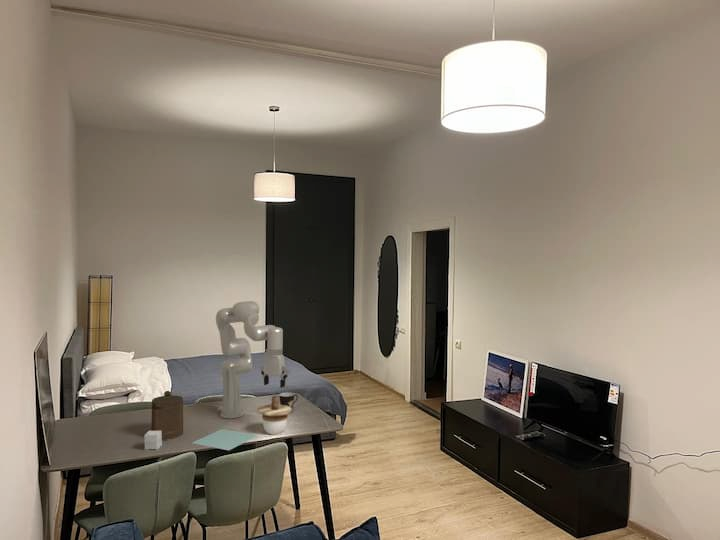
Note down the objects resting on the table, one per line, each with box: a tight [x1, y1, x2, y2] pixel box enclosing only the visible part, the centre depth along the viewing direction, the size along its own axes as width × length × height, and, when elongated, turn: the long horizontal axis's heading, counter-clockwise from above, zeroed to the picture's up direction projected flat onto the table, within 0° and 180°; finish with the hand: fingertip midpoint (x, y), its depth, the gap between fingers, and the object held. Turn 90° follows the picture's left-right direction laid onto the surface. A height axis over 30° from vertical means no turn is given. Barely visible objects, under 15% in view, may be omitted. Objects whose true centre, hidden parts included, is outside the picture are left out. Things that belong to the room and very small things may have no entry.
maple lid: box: [257, 395, 293, 416], centre depth 269 cm, size 17×17×7 cm
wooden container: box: [151, 390, 184, 441], centre depth 264 cm, size 15×15×22 cm
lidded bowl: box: [261, 414, 289, 436], centre depth 269 cm, size 13×13×11 cm
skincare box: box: [143, 430, 163, 451], centre depth 247 cm, size 6×6×7 cm
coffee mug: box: [278, 391, 298, 414], centre depth 305 cm, size 12×9×10 cm
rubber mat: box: [191, 428, 258, 451], centre depth 258 cm, size 22×22×1 cm
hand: (274, 385), depth 268 cm, fingers open, 9 cm apart
